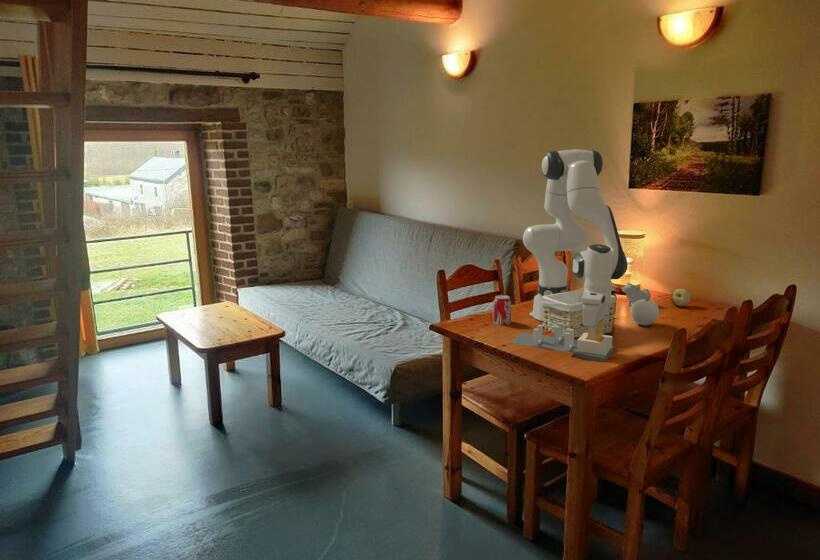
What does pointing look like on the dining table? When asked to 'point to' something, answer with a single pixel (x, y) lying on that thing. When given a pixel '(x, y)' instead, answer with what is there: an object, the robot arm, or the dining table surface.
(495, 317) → the soda can
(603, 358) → the board
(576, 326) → the storage basket
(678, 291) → the fruit
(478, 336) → the dining table surface
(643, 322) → the ornament
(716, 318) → the dining table surface
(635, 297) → the dog figurine
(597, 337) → the plug
